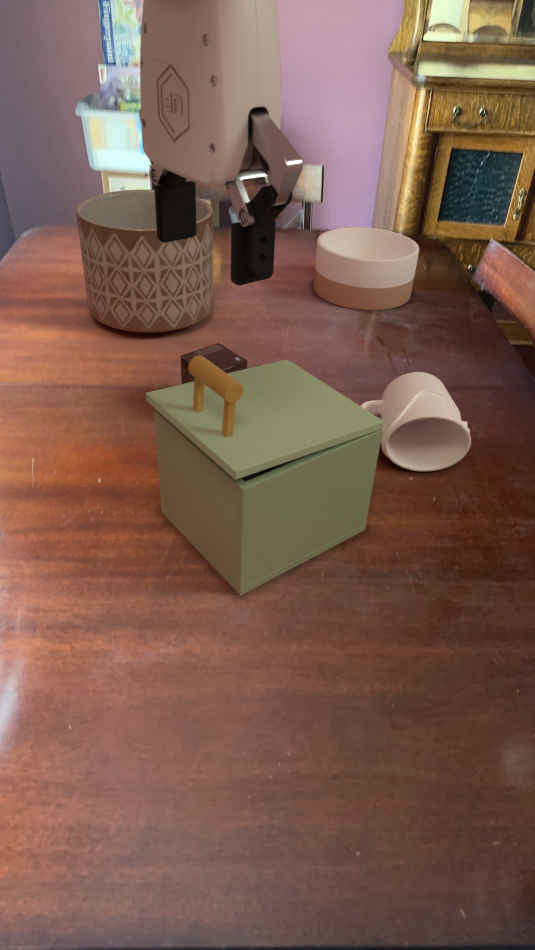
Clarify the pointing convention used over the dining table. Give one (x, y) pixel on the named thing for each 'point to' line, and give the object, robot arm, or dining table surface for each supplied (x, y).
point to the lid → (260, 414)
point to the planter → (143, 264)
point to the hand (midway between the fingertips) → (212, 258)
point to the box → (213, 360)
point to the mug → (420, 423)
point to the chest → (265, 504)
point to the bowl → (365, 268)
